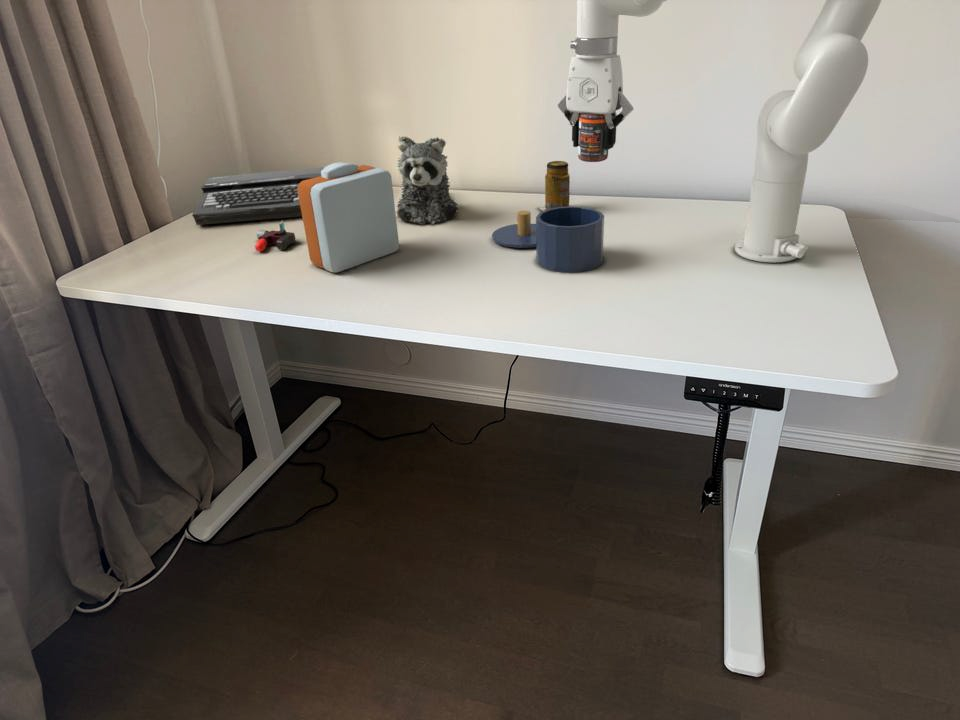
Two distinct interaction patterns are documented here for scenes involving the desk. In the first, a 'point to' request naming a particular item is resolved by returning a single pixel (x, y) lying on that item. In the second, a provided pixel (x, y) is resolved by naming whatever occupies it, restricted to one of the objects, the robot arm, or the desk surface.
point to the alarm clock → (348, 215)
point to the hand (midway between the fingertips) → (593, 146)
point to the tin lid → (517, 232)
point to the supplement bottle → (592, 137)
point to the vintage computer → (252, 196)
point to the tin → (569, 239)
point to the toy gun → (275, 238)
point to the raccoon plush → (424, 182)
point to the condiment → (556, 185)
